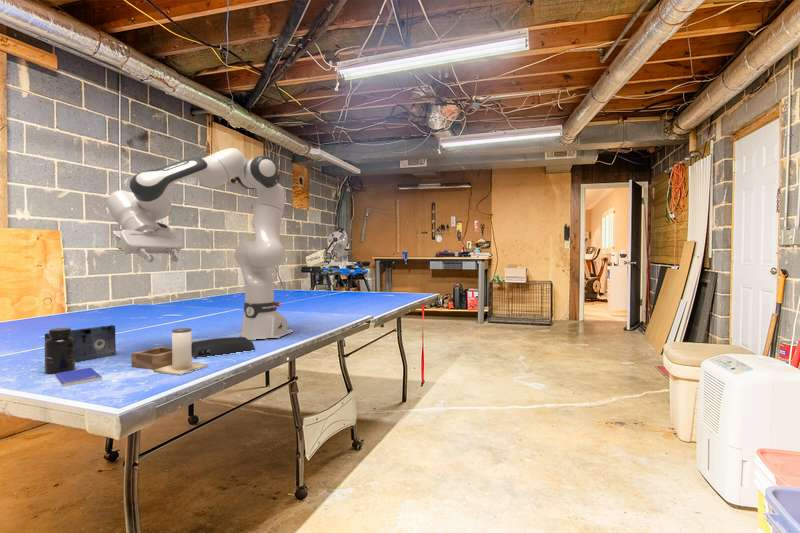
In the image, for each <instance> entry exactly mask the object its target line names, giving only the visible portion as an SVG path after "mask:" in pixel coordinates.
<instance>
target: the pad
mask: <svg viewBox="0 0 800 533" xmlns="http://www.w3.org/2000/svg"><path fill="white" fill-rule="evenodd" d="M207 365H208V366H209V364H206V363H205V364H204V363H198V362H192V366H191V367H190V368H186V369H173V368H172V365H169V366H165V367H162V368H158V369H155V370H153V369H152V370H153V373H156V372H158V373H159V374H164V373H171V374H170V375H172V374H182V373H186V372H189V371H192V370H195V369H198V368H202V367H205V366H207ZM205 368H206V367H205ZM202 369H203V368H202Z"/></svg>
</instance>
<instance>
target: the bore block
mask: <svg viewBox="0 0 800 533" xmlns="http://www.w3.org/2000/svg"><path fill="white" fill-rule="evenodd" d="M169 365H172V346H171V347H169V346H162V345H161V346H156V347H153V348H148V349H145V350H139V351H135V352H132V353H131V368H139V369H145V370H146V369H148V370H155V369H158V368H162V367H165V366H169Z"/></svg>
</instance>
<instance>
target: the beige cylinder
mask: <svg viewBox="0 0 800 533" xmlns="http://www.w3.org/2000/svg"><path fill="white" fill-rule="evenodd" d="M191 344H192V328H189V327H182V328H181V327H179V328H174V329H172V330H171V347H172V368H173V369H186V368H190V367H191V366H192V363H193V362H192V360H193V359H192V358H193V356H192V350H191Z"/></svg>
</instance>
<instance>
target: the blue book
mask: <svg viewBox="0 0 800 533" xmlns="http://www.w3.org/2000/svg"><path fill="white" fill-rule="evenodd" d="M55 376H56V377H55V378H56V380H57V381H58V380H59V381H58V382H59V384H62V385H61V386H62V387H64V386H65V387H69V386H76V385H81V384H86V383H92V382H97V381H102V380H103V376H102V375H100V374H99V373H98V372H97V371H96V370H94V368H92V367H85V368H79V369H73V370H71V371H66V372H60V373H55Z"/></svg>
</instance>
